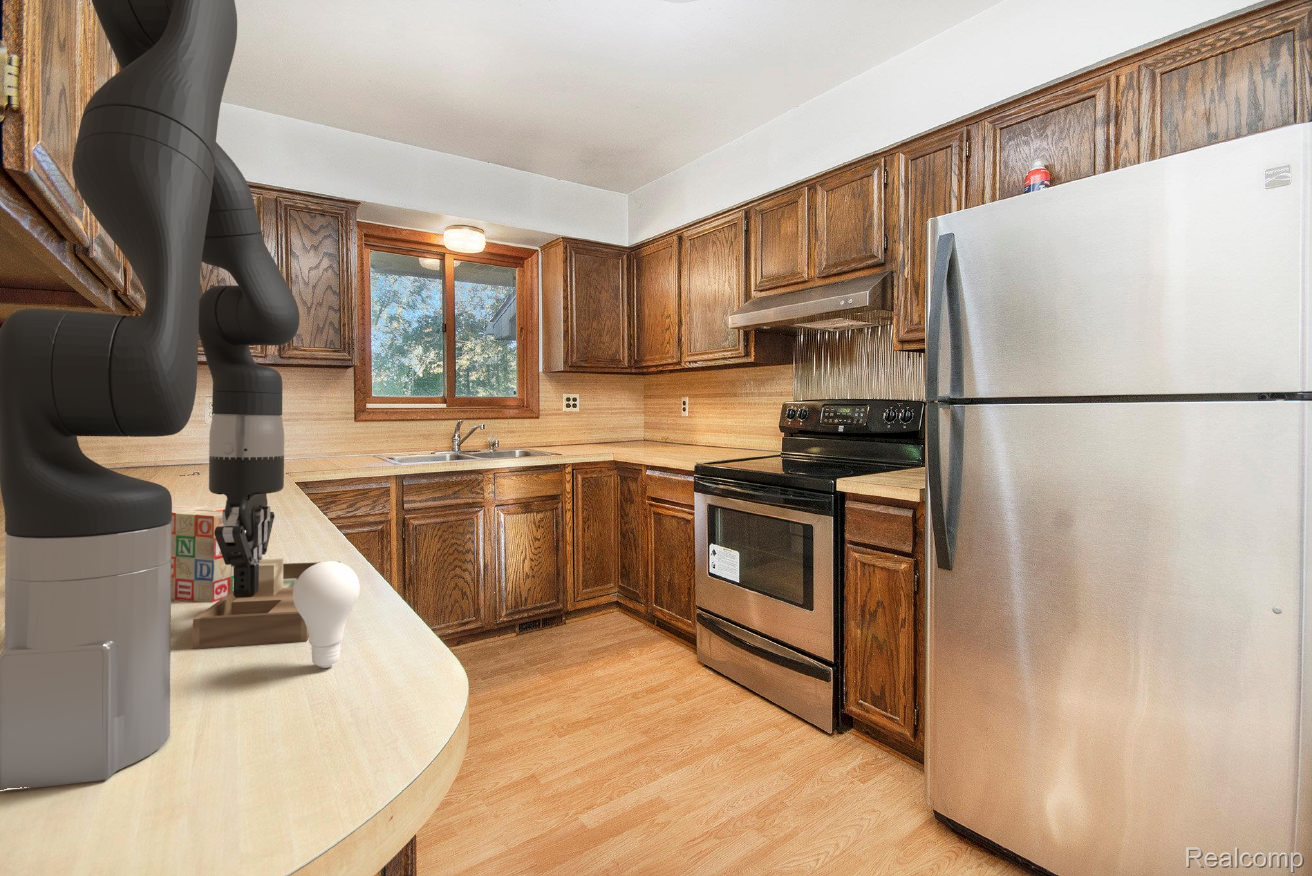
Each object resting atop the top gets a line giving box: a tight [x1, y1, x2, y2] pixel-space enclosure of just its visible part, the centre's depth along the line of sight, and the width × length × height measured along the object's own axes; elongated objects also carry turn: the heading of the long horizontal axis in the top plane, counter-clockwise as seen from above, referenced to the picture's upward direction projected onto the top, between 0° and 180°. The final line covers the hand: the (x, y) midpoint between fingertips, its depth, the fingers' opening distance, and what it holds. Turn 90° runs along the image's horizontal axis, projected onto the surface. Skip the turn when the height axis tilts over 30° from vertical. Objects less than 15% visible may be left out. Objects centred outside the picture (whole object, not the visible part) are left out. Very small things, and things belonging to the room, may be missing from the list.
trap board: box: [192, 561, 341, 650], centre depth 80 cm, size 21×11×4 cm, turn 16°
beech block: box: [252, 558, 284, 597], centre depth 81 cm, size 4×4×4 cm
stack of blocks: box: [171, 505, 234, 603], centre depth 89 cm, size 21×6×12 cm, turn 82°
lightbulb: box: [293, 560, 361, 669], centre depth 64 cm, size 6×6×11 cm
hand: (246, 595), depth 74 cm, fingers closed
